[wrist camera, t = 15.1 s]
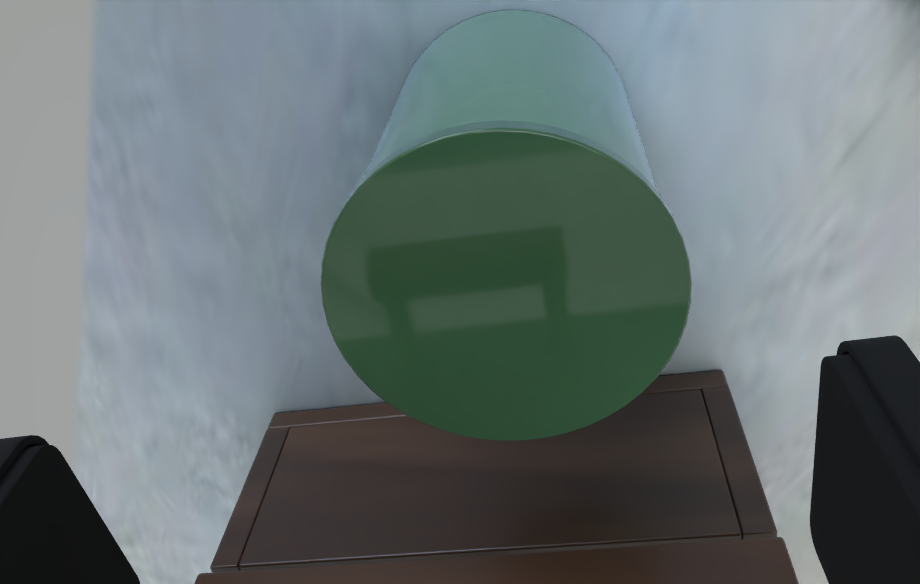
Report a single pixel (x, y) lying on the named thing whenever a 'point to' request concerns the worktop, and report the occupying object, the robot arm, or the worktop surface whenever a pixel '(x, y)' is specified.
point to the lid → (557, 567)
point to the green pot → (508, 240)
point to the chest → (496, 484)
